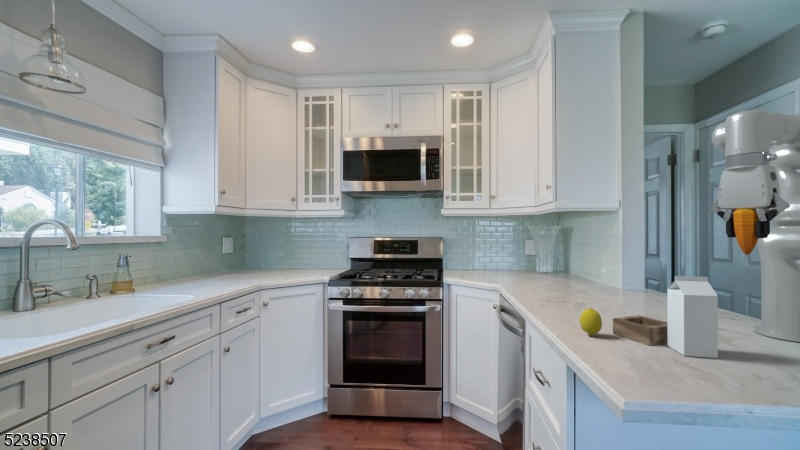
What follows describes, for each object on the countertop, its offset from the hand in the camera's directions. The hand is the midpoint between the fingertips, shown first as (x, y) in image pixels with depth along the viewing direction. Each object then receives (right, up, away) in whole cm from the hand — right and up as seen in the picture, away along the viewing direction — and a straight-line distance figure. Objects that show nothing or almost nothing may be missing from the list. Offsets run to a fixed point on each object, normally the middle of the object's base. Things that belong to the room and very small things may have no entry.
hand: (747, 236), depth 83 cm
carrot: (0, -5, 0) cm, 5 cm away
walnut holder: (-15, -29, +14) cm, 36 cm away
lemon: (-30, -29, +15) cm, 44 cm away
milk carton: (-12, -29, +2) cm, 31 cm away
